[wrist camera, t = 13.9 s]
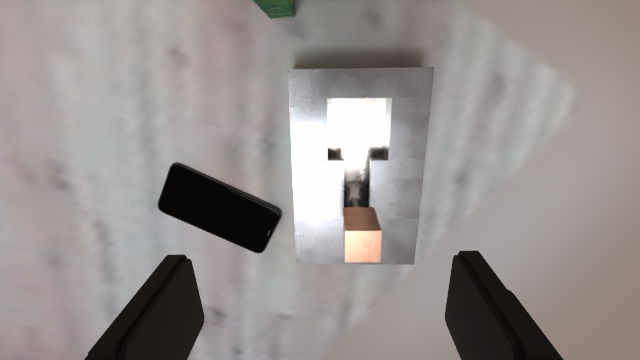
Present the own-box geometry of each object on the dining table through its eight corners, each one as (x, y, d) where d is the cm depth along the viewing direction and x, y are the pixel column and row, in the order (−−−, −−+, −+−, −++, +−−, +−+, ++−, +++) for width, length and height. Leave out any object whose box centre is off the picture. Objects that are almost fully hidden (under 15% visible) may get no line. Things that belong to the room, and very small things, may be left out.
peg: (335, 182, 38) (338, 225, 27) (372, 182, 37) (389, 224, 27) (335, 215, 39) (338, 268, 29) (371, 215, 39) (386, 267, 29)
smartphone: (158, 207, 41) (263, 253, 43) (154, 210, 40) (261, 256, 42) (174, 158, 39) (284, 209, 40) (171, 160, 38) (284, 211, 40)
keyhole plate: (292, 69, 34) (287, 69, 30) (421, 67, 34) (434, 67, 30) (299, 244, 42) (296, 263, 38) (405, 244, 41) (414, 264, 37)
